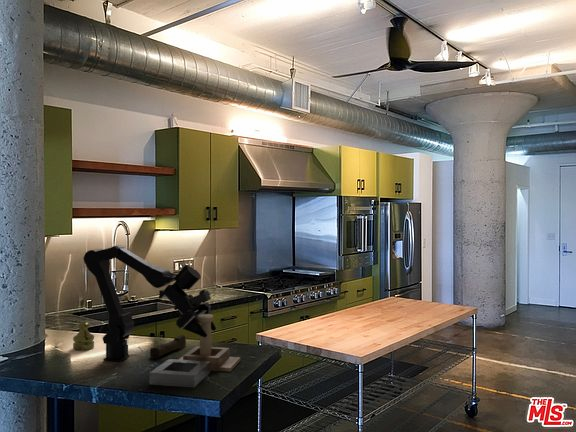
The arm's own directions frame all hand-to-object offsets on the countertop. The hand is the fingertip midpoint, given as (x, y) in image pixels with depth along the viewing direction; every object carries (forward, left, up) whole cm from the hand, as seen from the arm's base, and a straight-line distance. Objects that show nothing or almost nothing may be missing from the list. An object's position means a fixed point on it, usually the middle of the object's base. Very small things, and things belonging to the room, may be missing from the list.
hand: (210, 333), depth 167 cm
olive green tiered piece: (-53, +10, -11) cm, 55 cm away
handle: (-2, 0, -10) cm, 10 cm away
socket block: (-4, -15, -11) cm, 19 cm away
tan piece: (-1, 0, -11) cm, 11 cm away
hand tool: (-20, +12, -11) cm, 26 cm away
